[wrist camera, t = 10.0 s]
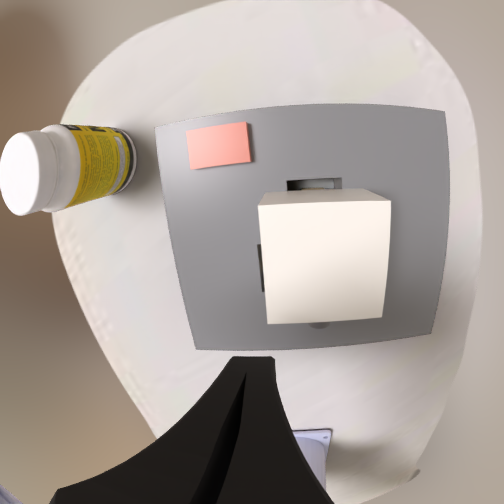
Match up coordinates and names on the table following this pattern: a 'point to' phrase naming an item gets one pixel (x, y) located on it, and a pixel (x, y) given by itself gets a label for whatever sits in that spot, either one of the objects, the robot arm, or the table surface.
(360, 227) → the plug
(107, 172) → the supplement bottle
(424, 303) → the socket
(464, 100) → the table surface
